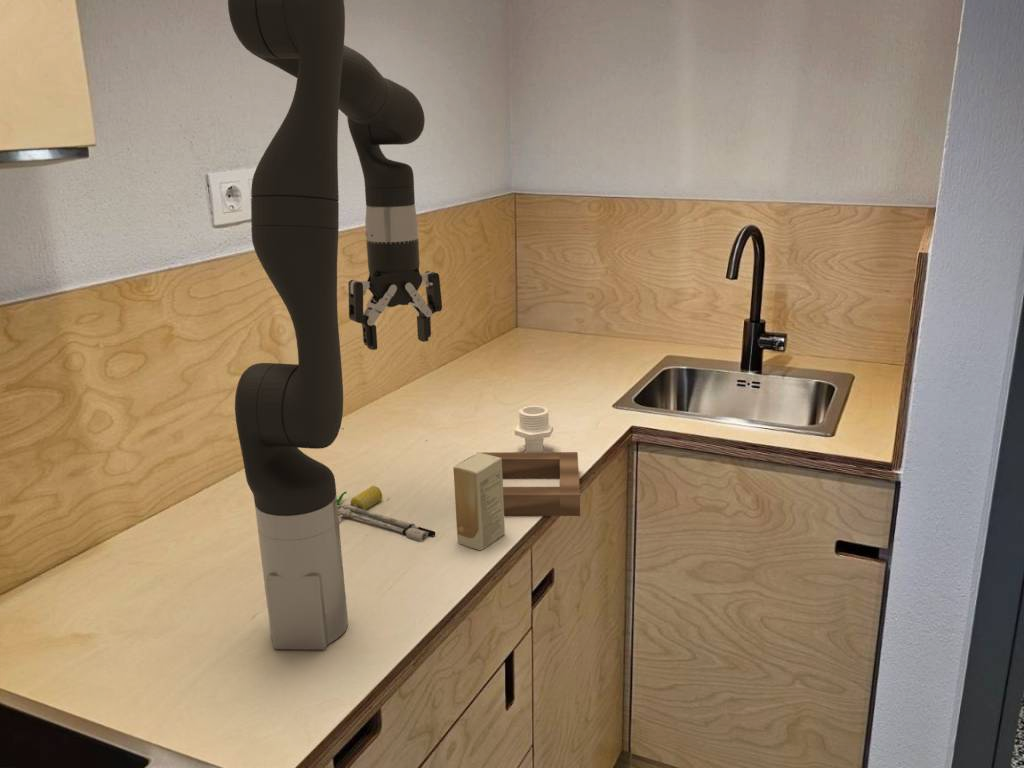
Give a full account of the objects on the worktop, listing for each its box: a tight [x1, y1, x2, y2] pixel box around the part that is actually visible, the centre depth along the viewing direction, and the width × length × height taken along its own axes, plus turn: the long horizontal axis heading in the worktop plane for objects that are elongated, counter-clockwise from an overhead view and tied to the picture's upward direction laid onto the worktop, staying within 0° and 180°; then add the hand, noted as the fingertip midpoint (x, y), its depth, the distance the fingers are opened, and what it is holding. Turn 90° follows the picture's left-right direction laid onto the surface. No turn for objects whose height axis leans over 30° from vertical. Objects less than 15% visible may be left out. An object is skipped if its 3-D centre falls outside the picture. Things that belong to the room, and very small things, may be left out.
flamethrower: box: [337, 485, 436, 543], centre depth 139 cm, size 29×3×10 cm
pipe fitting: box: [514, 405, 554, 452], centre depth 159 cm, size 6×7×8 cm
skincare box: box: [453, 451, 506, 551], centre depth 128 cm, size 6×4×12 cm
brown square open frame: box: [483, 451, 581, 517], centre depth 144 cm, size 17×17×4 cm
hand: (398, 344), depth 135 cm, fingers open, 8 cm apart
